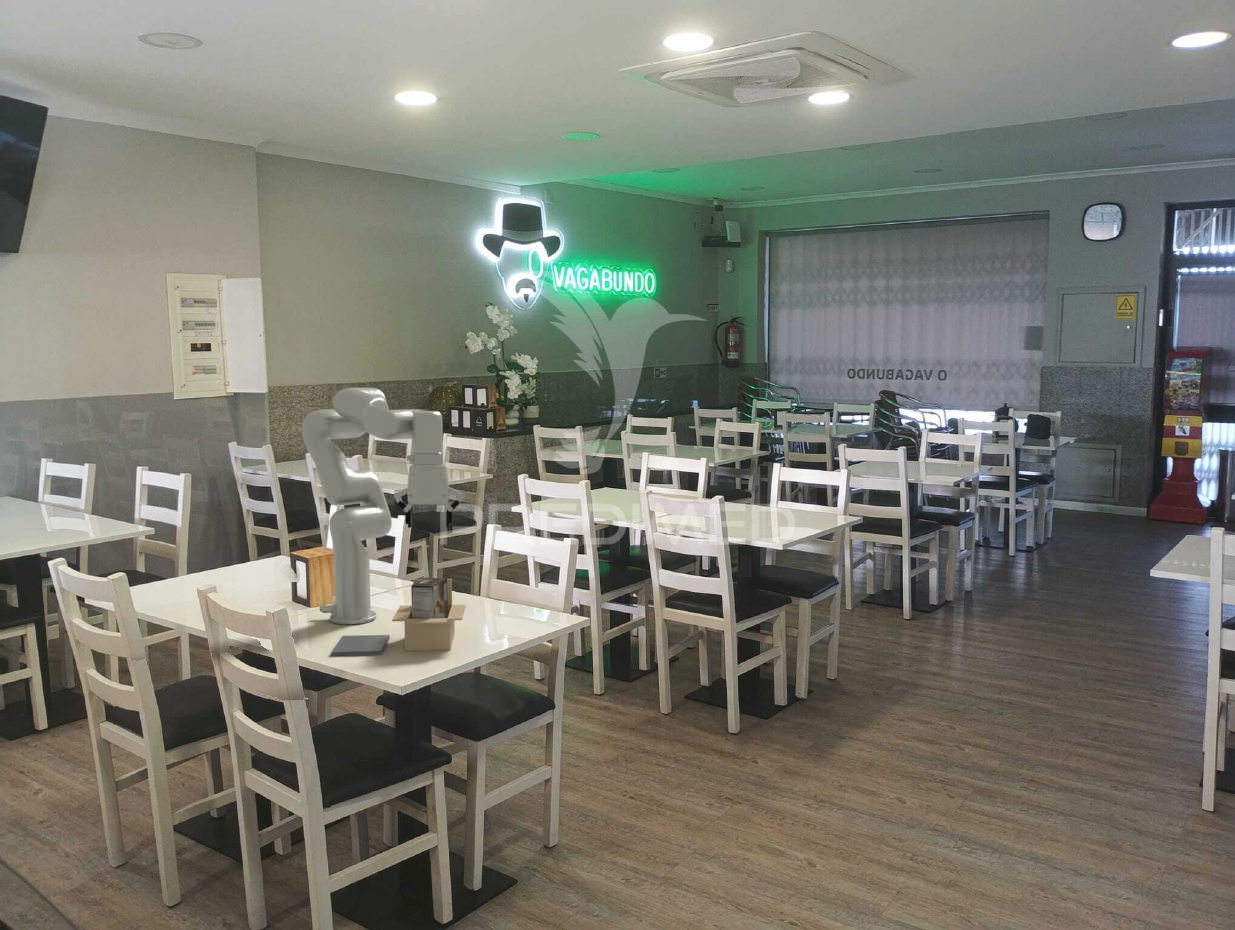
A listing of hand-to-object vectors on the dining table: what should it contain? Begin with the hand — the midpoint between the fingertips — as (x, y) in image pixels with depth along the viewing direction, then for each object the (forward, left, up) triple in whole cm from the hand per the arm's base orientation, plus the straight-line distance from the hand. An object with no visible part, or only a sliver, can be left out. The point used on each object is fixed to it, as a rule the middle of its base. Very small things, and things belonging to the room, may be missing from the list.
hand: (429, 526), depth 240 cm
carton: (0, -1, -30) cm, 30 cm away
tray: (-17, -3, -30) cm, 35 cm away
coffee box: (0, 0, -31) cm, 31 cm away
